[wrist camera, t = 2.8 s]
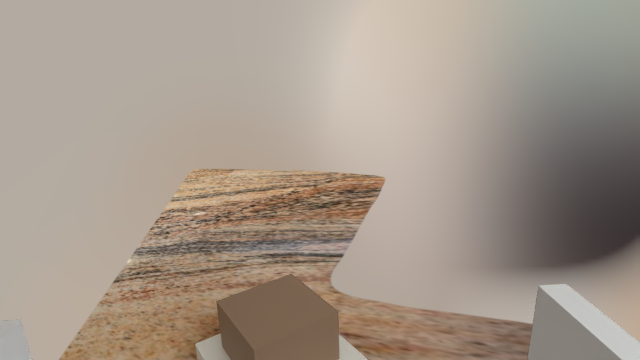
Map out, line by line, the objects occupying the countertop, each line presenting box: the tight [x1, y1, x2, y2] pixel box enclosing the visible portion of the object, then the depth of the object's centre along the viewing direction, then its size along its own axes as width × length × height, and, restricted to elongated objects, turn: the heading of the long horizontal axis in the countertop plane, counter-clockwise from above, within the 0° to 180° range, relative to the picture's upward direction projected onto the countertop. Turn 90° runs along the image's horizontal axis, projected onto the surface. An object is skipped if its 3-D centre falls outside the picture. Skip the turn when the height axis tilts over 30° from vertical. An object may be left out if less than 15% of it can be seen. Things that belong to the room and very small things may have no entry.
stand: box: [195, 274, 368, 360], centre depth 37 cm, size 12×12×8 cm
